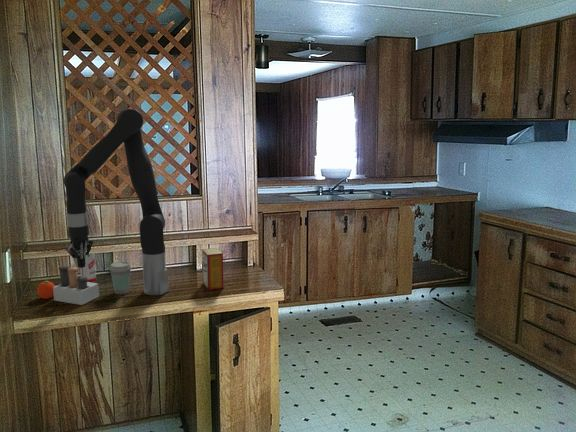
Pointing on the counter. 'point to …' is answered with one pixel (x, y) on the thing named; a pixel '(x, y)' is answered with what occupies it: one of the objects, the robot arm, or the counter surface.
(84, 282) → the black plug
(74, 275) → the terracotta plug
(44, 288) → the clementine
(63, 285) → the black plug
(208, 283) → the baking soda box
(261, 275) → the counter surface
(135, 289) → the counter surface
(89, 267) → the white red carton
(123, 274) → the coffee cup
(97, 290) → the block
